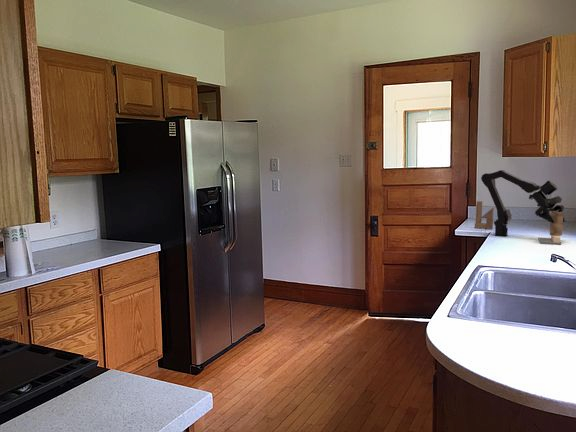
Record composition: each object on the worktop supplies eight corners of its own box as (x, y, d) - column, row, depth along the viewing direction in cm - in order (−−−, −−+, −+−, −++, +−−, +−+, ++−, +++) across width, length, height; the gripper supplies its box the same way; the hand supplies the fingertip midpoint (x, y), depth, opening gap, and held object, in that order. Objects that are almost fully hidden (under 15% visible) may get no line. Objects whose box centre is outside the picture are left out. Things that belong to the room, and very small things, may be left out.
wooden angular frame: (491, 229, 324) (492, 202, 322) (474, 228, 330) (475, 201, 328) (492, 229, 327) (494, 201, 325) (475, 227, 333) (477, 200, 331)
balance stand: (540, 243, 274) (540, 236, 274) (538, 239, 289) (538, 232, 289) (561, 244, 271) (561, 237, 270) (557, 240, 285) (557, 233, 285)
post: (549, 234, 279) (551, 211, 277) (554, 234, 281) (556, 211, 280) (557, 236, 275) (558, 212, 274) (561, 235, 277) (563, 212, 276)
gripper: (541, 191, 274) (558, 214, 266) (562, 190, 283) (580, 212, 275) (527, 204, 282) (544, 226, 274) (548, 203, 291) (565, 224, 283)
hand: (558, 222), depth 276 cm, fingers open, 9 cm apart
